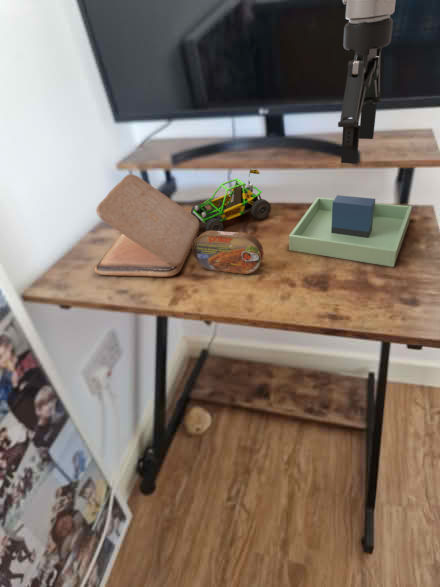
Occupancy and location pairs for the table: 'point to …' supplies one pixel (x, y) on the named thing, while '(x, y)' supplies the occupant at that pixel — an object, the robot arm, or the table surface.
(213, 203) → the motor vehicle
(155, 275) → the case
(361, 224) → the eraser
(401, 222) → the tray
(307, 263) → the table surface
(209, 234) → the tin
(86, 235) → the table surface
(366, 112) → the robot arm
